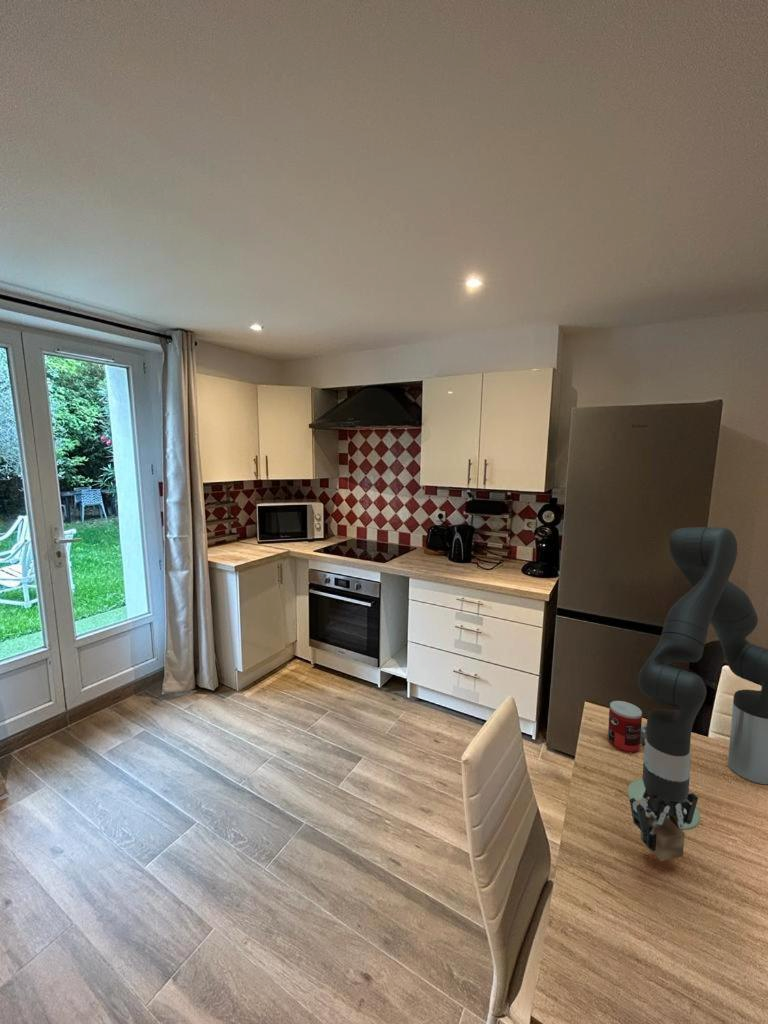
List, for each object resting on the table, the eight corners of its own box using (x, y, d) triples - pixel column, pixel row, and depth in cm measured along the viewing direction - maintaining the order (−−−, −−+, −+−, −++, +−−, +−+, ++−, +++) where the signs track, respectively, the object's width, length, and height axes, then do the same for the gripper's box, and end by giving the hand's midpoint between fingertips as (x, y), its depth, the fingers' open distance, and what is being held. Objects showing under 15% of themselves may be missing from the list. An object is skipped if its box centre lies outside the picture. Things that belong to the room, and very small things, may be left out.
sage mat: (662, 777, 106) (662, 775, 106) (715, 823, 92) (716, 820, 92) (614, 786, 103) (614, 784, 103) (662, 834, 90) (662, 832, 90)
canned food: (610, 732, 124) (612, 697, 123) (641, 743, 119) (644, 707, 118) (604, 745, 118) (606, 709, 117) (637, 757, 113) (639, 719, 112)
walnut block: (661, 834, 86) (662, 811, 86) (682, 856, 81) (684, 832, 81) (640, 838, 85) (641, 816, 85) (661, 861, 80) (662, 837, 80)
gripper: (679, 747, 86) (674, 821, 88) (619, 758, 83) (615, 835, 85) (715, 773, 79) (708, 854, 81) (650, 786, 76) (645, 869, 78)
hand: (661, 843), depth 83 cm, fingers closed on walnut block, 5 cm apart
